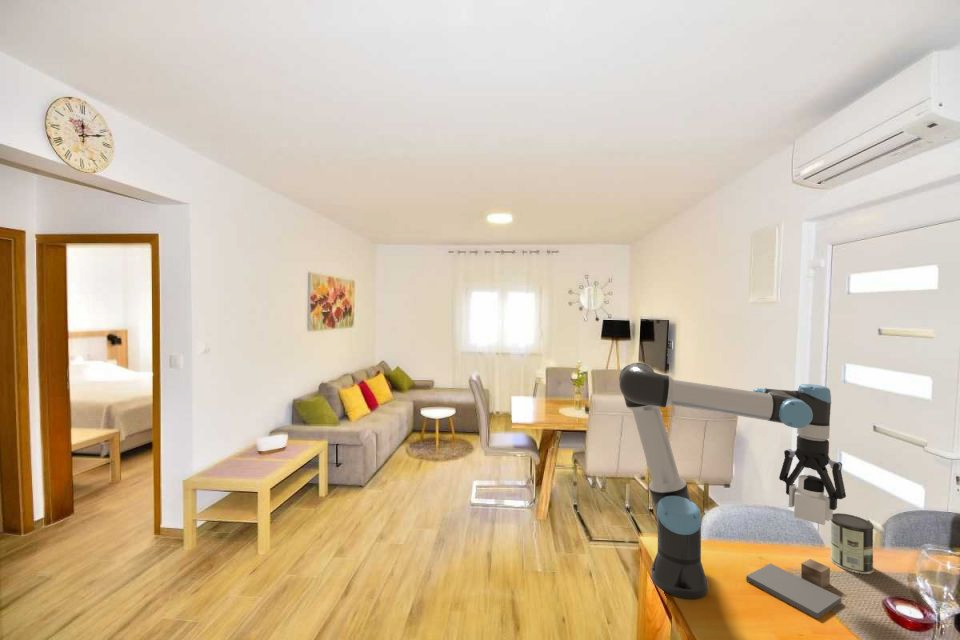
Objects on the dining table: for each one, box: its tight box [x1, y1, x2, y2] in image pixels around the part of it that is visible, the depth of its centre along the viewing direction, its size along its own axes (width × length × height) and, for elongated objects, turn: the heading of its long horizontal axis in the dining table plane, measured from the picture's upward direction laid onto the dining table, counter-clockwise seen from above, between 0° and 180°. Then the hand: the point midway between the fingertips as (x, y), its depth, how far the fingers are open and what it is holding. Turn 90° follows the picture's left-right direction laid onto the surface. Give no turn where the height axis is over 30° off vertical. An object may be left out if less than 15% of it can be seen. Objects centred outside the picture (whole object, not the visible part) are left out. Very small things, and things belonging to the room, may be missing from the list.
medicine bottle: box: [793, 474, 828, 526], centre depth 125 cm, size 7×7×12 cm
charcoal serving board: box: [745, 563, 842, 620], centre depth 120 cm, size 18×13×2 cm
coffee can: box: [830, 512, 875, 575], centre depth 133 cm, size 10×10×14 cm
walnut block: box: [800, 558, 831, 589], centre depth 124 cm, size 5×5×5 cm
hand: (809, 512), depth 125 cm, fingers closed on medicine bottle, 8 cm apart
